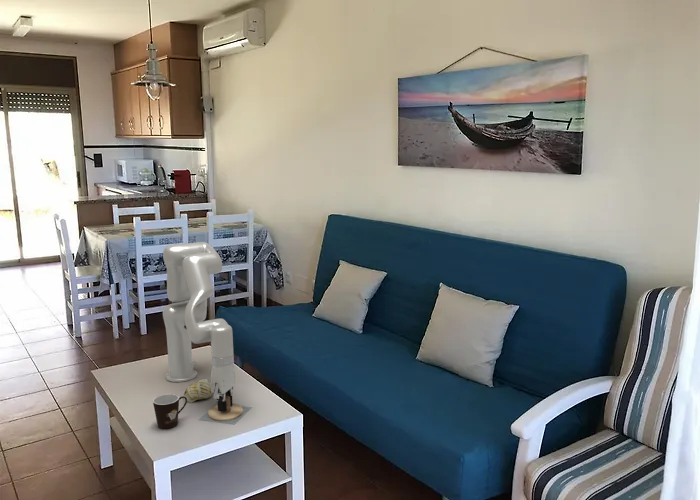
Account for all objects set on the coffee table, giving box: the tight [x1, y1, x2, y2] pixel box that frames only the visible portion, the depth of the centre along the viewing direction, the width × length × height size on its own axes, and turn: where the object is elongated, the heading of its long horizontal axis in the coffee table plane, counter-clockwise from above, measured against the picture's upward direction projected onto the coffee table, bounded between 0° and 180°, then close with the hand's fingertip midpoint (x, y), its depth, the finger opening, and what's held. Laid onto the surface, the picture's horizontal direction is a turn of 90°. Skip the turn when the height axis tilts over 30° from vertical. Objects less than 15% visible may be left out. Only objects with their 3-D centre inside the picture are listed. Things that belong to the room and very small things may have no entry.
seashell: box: [182, 378, 213, 404], centre depth 223 cm, size 10×10×10 cm
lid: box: [207, 396, 243, 421], centre depth 210 cm, size 12×12×6 cm
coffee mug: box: [152, 393, 187, 431], centre depth 202 cm, size 12×9×10 cm
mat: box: [198, 402, 253, 426], centre depth 210 cm, size 14×14×1 cm
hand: (225, 408), depth 210 cm, fingers closed on lid, 3 cm apart
